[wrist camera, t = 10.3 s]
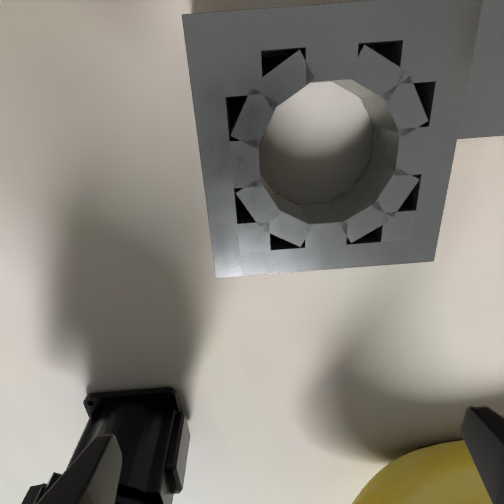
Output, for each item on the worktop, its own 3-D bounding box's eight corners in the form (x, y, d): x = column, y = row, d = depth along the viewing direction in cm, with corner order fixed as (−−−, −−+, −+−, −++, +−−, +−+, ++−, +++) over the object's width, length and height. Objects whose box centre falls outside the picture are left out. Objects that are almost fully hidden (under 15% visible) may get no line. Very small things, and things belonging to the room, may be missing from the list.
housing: (219, 252, 20) (216, 277, 17) (191, 28, 15) (181, 14, 12) (406, 237, 20) (433, 261, 17) (440, 9, 15) (484, -8, 12)
